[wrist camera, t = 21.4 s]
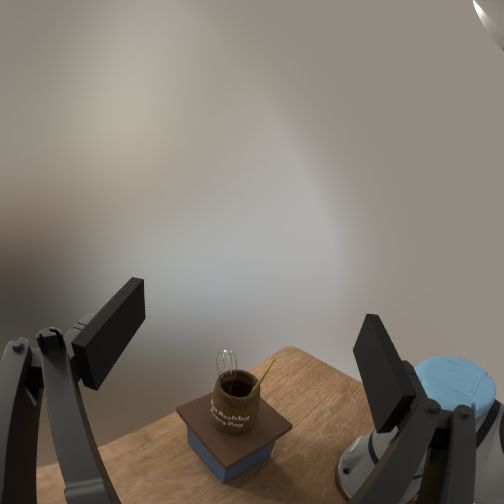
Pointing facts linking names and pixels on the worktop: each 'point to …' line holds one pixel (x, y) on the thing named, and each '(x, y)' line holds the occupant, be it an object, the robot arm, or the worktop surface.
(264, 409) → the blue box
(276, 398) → the worktop surface
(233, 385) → the utensil holder
